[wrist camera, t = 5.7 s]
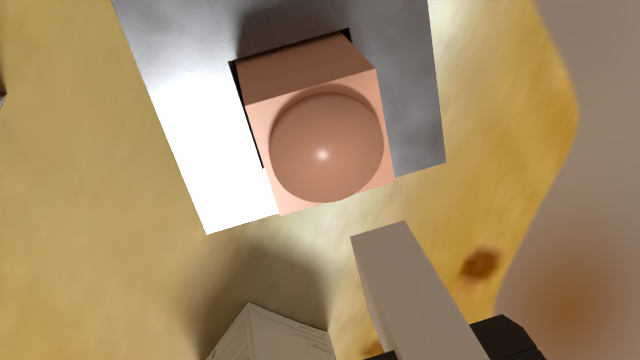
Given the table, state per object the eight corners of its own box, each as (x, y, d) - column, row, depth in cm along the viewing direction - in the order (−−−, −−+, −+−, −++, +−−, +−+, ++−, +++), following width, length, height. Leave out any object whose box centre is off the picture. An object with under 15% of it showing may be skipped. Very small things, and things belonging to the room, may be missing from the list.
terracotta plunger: (234, 59, 25) (245, 112, 19) (338, 30, 25) (380, 73, 20) (264, 153, 27) (281, 224, 22) (358, 125, 28) (400, 188, 22)
